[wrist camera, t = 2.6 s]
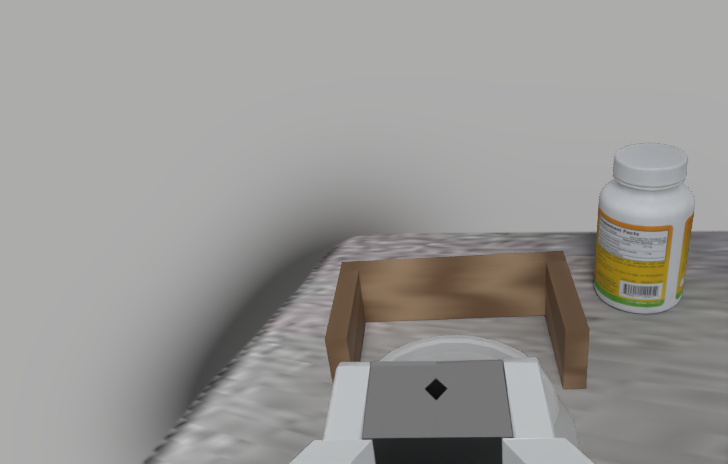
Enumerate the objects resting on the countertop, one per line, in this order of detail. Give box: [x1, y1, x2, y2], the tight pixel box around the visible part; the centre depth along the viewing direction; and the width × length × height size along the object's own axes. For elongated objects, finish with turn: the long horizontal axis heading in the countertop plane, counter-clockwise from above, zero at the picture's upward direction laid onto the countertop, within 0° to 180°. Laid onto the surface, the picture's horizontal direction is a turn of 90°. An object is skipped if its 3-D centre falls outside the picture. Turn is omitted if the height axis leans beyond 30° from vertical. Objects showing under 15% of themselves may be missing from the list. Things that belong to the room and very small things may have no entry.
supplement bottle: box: [594, 143, 695, 314], centre depth 41 cm, size 5×5×10 cm
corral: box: [325, 251, 589, 389], centre depth 40 cm, size 14×8×4 cm, turn 85°
